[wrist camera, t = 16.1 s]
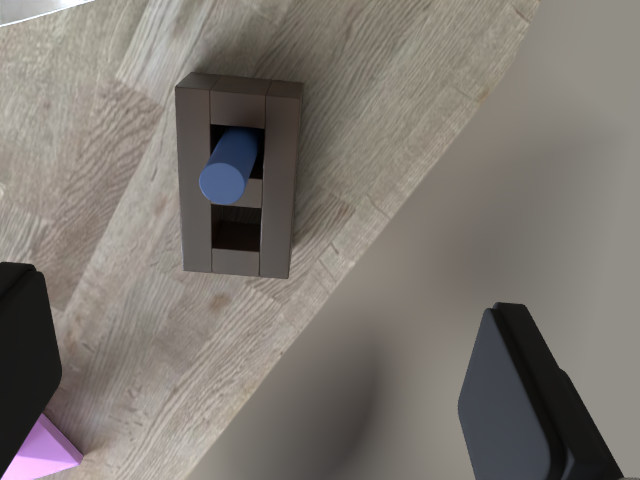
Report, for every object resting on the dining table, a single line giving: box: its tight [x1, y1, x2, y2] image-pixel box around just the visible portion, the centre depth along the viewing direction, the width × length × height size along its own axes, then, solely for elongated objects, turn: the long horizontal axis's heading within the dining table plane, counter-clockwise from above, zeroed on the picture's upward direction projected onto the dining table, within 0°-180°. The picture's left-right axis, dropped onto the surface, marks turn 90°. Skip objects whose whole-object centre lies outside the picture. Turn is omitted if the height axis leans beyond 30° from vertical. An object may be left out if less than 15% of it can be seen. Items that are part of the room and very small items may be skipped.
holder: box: [175, 72, 304, 279], centre depth 44 cm, size 9×16×5 cm, turn 175°
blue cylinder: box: [199, 125, 263, 204], centre depth 40 cm, size 3×3×11 cm
